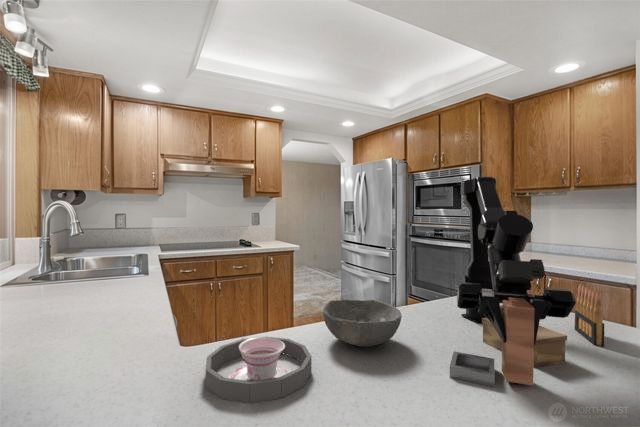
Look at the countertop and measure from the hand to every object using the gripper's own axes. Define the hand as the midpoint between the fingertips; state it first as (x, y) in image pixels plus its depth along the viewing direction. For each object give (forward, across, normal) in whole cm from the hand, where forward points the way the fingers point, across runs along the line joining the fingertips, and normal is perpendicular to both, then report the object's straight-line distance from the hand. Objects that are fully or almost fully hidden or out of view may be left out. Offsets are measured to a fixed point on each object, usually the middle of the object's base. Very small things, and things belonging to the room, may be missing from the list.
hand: (519, 343), depth 57 cm
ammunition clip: (-16, +22, +27) cm, 38 cm away
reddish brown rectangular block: (+4, 0, +6) cm, 7 cm away
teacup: (+14, -43, -3) cm, 45 cm away
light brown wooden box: (-6, +4, +17) cm, 18 cm away
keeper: (+4, -7, +7) cm, 11 cm away
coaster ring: (+12, -44, -2) cm, 46 cm away
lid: (-9, +4, +14) cm, 17 cm away
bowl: (-2, -29, +13) cm, 32 cm away
